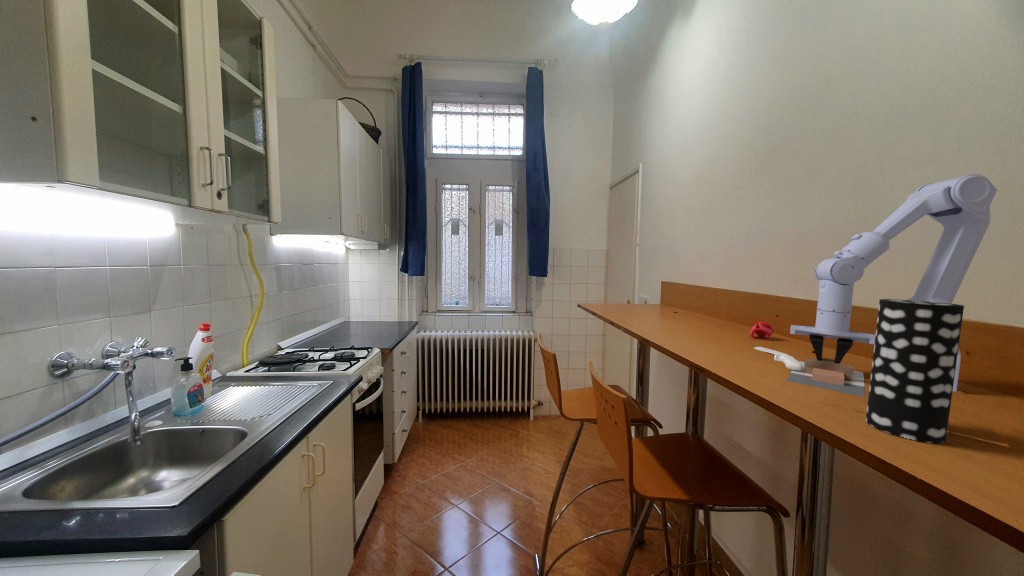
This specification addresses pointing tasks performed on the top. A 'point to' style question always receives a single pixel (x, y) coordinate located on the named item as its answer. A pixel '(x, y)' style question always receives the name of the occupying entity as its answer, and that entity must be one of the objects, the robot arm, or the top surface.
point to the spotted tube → (914, 368)
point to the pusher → (828, 367)
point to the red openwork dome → (761, 330)
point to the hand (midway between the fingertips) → (827, 369)
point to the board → (849, 387)
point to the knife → (783, 358)
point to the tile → (828, 376)
